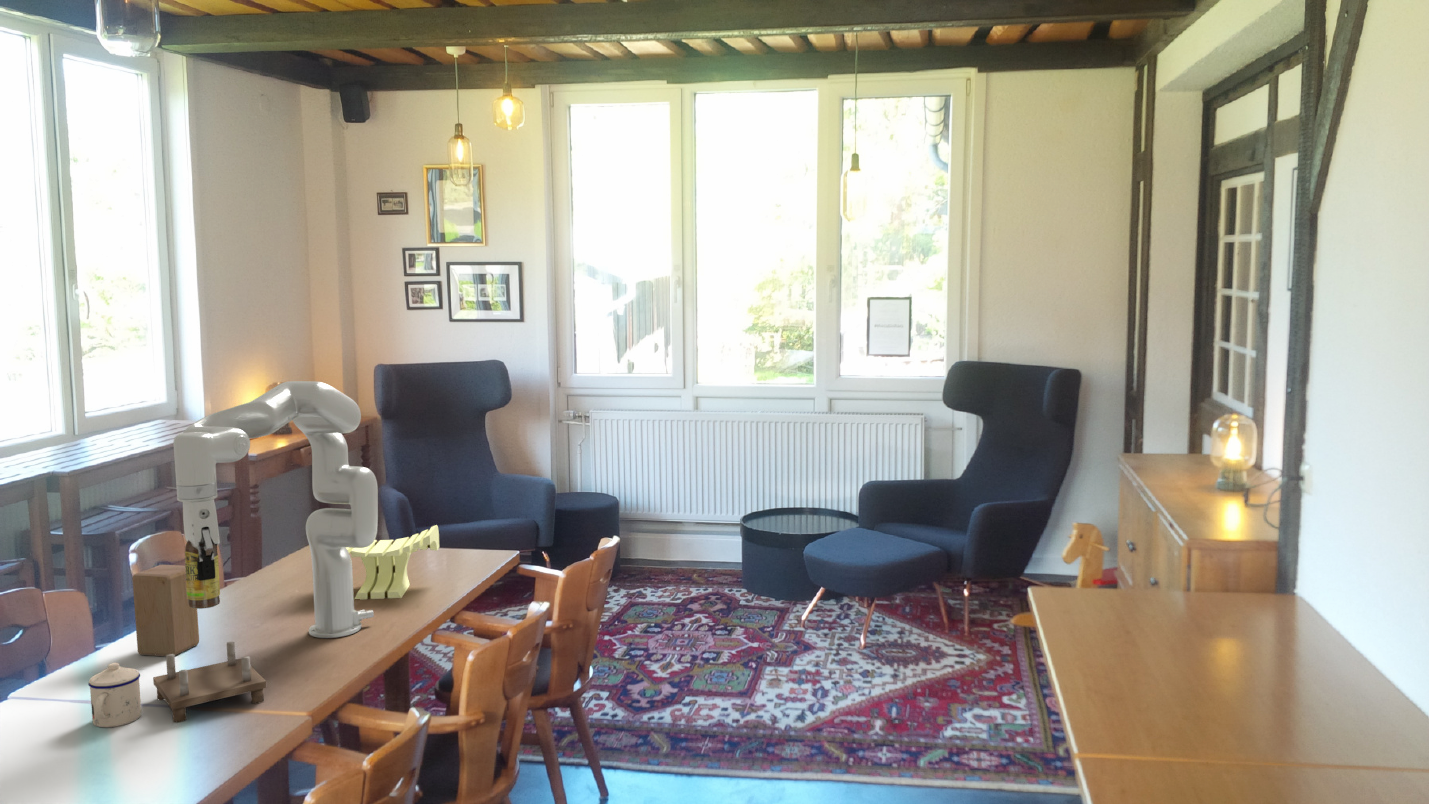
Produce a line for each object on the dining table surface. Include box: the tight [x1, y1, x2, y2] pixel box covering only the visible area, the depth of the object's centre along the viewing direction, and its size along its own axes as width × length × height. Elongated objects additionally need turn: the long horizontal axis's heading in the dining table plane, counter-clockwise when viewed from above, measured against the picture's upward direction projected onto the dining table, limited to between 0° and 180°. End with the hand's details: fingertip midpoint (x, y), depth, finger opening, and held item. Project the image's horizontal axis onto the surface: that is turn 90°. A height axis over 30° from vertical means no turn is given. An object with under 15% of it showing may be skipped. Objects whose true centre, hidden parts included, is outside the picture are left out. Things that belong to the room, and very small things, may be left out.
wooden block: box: [131, 564, 200, 657], centre depth 250 cm, size 10×10×20 cm
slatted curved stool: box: [346, 524, 440, 601], centre depth 299 cm, size 30×16×18 cm, turn 96°
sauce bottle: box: [184, 512, 221, 610], centre depth 217 cm, size 6×6×20 cm
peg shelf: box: [152, 641, 267, 723], centre depth 220 cm, size 18×18×10 cm
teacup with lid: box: [87, 662, 142, 728], centre depth 209 cm, size 12×9×12 cm
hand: (202, 575), depth 218 cm, fingers closed on sauce bottle, 6 cm apart
